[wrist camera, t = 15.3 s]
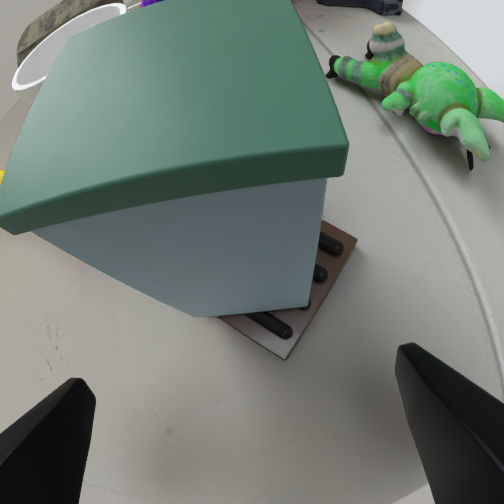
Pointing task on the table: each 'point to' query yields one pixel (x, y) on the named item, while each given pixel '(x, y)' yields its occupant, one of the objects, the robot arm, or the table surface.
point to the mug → (57, 50)
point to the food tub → (184, 154)
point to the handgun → (370, 5)
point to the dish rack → (297, 319)
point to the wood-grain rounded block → (54, 23)
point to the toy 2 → (423, 90)
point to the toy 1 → (148, 2)
